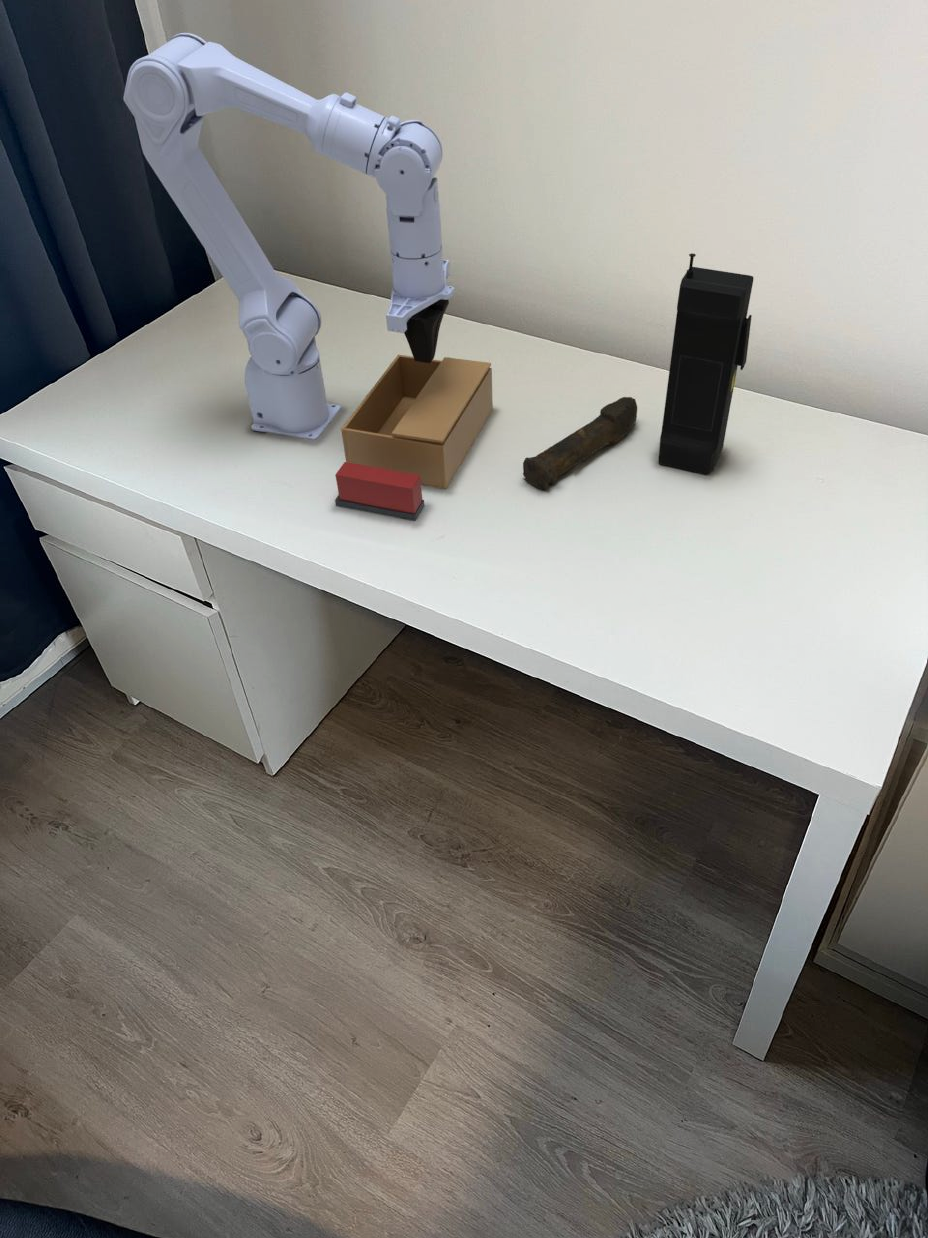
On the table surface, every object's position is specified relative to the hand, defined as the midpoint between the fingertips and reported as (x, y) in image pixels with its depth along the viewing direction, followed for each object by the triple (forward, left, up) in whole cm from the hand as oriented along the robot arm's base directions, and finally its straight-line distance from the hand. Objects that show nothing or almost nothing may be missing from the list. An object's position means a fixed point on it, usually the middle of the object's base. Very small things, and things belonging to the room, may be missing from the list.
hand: (424, 359), depth 113 cm
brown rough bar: (+20, +1, -11) cm, 22 cm away
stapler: (0, -16, -10) cm, 19 cm away
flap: (+3, -2, -4) cm, 5 cm away
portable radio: (+33, +4, -11) cm, 35 cm away
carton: (0, -2, -10) cm, 11 cm away
